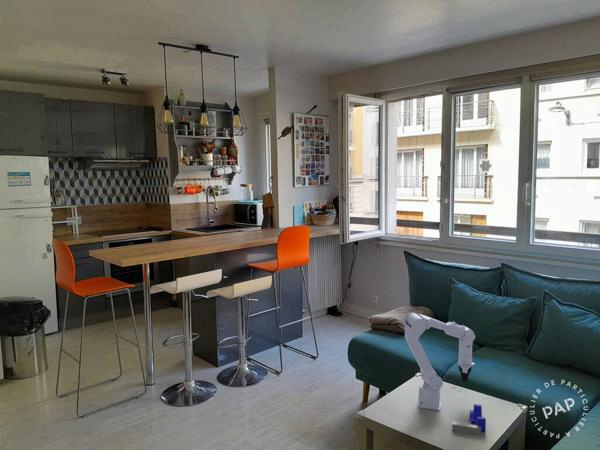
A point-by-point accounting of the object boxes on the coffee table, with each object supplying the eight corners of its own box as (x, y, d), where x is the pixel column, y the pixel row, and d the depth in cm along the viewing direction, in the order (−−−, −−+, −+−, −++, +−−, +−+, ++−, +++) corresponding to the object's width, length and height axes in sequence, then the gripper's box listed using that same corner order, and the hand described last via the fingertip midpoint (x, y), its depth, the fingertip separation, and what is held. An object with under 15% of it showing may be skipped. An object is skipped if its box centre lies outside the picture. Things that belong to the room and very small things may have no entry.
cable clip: (469, 416, 199) (470, 403, 198) (480, 417, 198) (481, 404, 197) (473, 431, 187) (474, 418, 186) (485, 433, 186) (485, 419, 185)
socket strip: (452, 430, 188) (452, 424, 187) (452, 428, 190) (452, 421, 189) (480, 435, 184) (481, 428, 184) (480, 433, 186) (480, 426, 186)
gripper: (474, 360, 200) (474, 389, 202) (474, 348, 214) (473, 376, 215) (458, 358, 203) (457, 387, 204) (458, 346, 216) (457, 374, 218)
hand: (464, 381), depth 210 cm, fingers closed
